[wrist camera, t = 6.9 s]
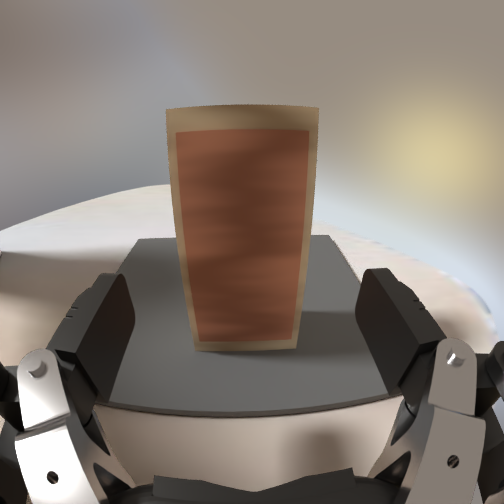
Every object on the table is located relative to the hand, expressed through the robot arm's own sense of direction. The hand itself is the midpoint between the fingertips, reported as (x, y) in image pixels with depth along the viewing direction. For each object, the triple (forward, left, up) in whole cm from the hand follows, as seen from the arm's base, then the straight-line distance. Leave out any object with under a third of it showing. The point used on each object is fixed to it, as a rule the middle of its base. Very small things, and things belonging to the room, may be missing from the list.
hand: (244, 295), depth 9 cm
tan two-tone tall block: (0, +6, -7) cm, 9 cm away
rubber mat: (-1, +10, -8) cm, 12 cm away
